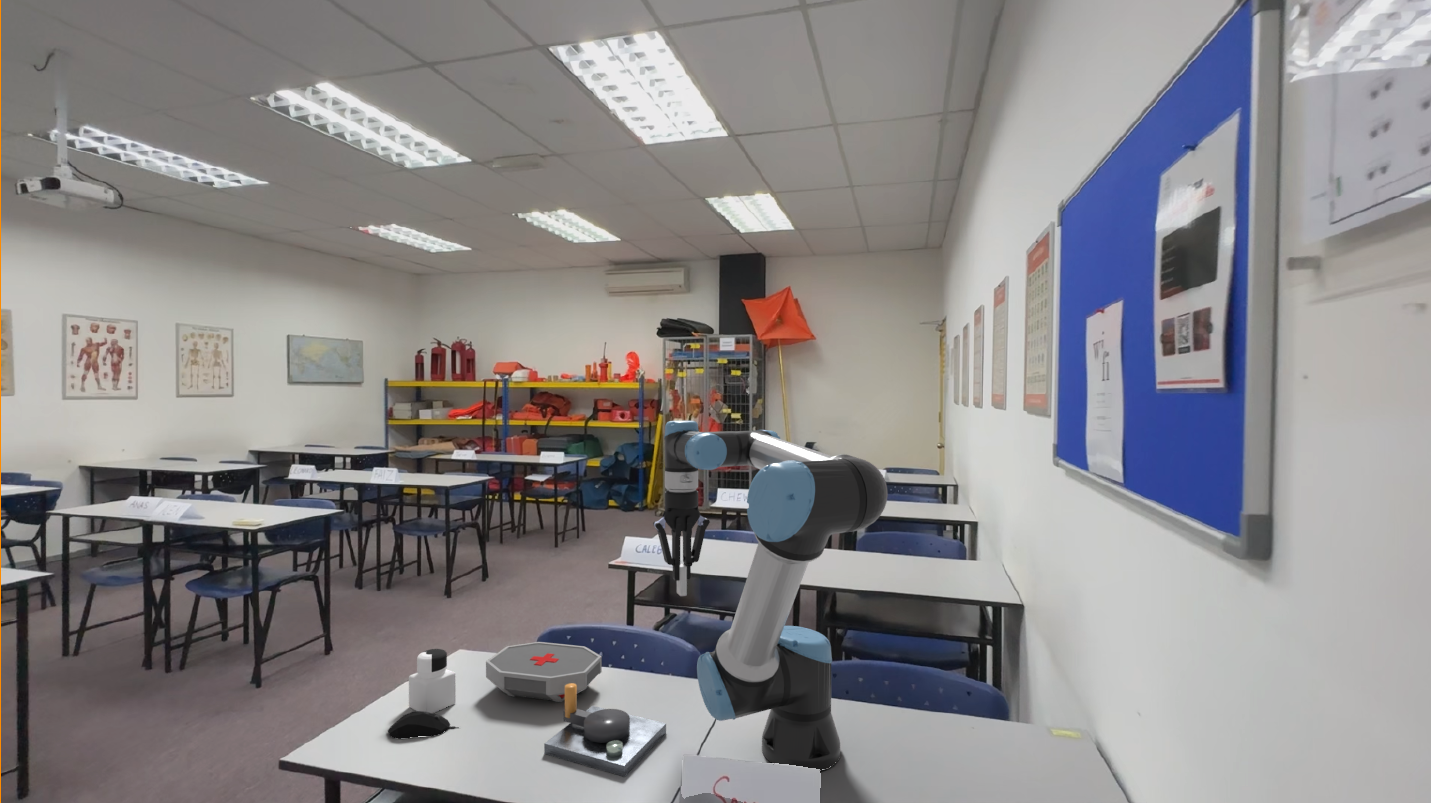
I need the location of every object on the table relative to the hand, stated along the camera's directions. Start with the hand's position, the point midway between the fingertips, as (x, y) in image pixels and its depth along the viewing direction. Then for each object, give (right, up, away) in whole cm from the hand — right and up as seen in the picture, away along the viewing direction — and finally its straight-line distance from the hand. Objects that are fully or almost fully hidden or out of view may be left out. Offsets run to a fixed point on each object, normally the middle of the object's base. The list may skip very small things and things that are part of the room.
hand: (681, 593), depth 142 cm
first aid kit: (-32, -25, +6) cm, 41 cm away
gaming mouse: (-52, -25, -11) cm, 59 cm away
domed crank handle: (-17, -22, -15) cm, 31 cm away
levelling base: (-14, -25, -16) cm, 33 cm away
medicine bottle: (-55, -25, -1) cm, 61 cm away
